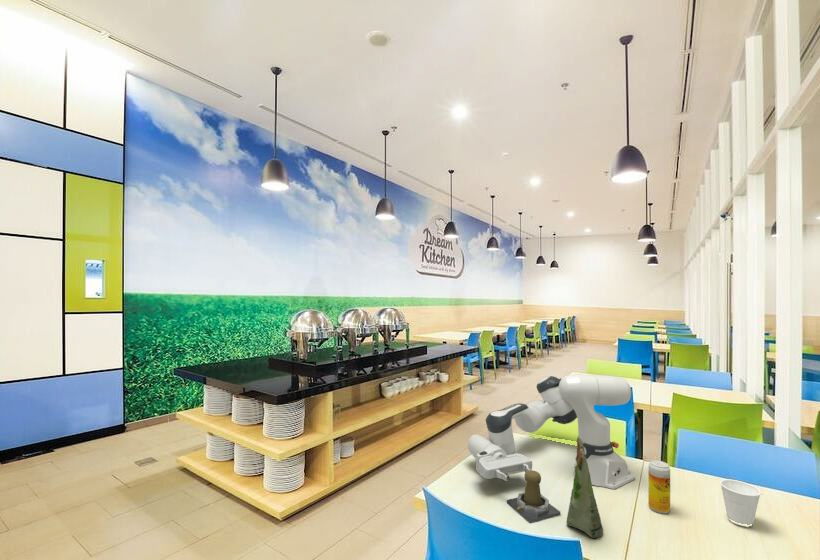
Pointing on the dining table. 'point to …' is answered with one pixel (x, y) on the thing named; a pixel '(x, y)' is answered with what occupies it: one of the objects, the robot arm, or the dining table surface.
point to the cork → (532, 489)
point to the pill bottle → (659, 486)
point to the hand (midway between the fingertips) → (519, 476)
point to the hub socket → (533, 509)
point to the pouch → (583, 499)
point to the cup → (740, 500)
